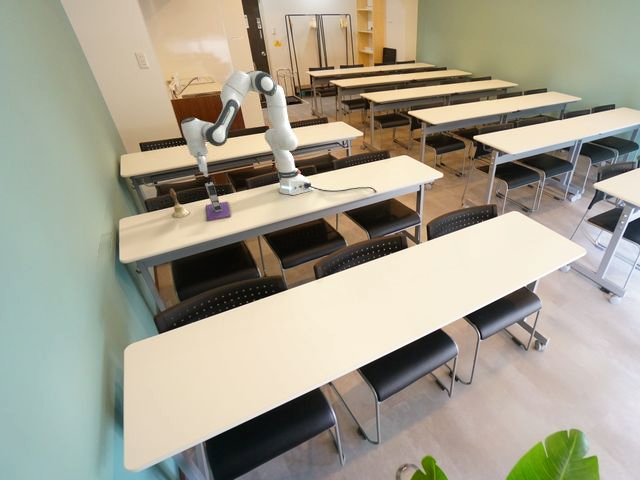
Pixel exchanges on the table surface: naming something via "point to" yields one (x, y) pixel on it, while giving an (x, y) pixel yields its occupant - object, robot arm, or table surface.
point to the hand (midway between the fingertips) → (206, 174)
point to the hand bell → (177, 206)
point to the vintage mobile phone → (213, 196)
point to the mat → (218, 215)
